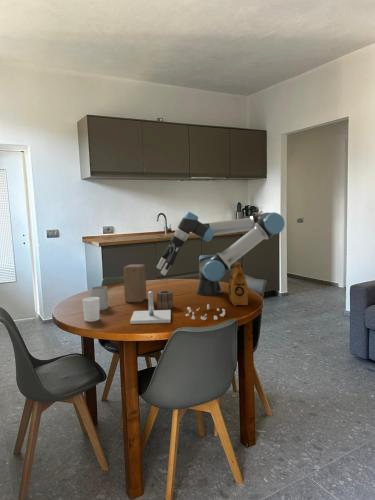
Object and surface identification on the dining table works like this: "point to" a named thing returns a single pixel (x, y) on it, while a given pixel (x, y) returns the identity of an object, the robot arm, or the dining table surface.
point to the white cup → (91, 308)
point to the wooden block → (134, 283)
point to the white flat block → (151, 317)
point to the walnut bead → (164, 299)
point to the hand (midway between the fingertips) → (160, 271)
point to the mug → (100, 296)
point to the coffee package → (238, 286)
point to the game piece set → (206, 314)
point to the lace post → (150, 303)
